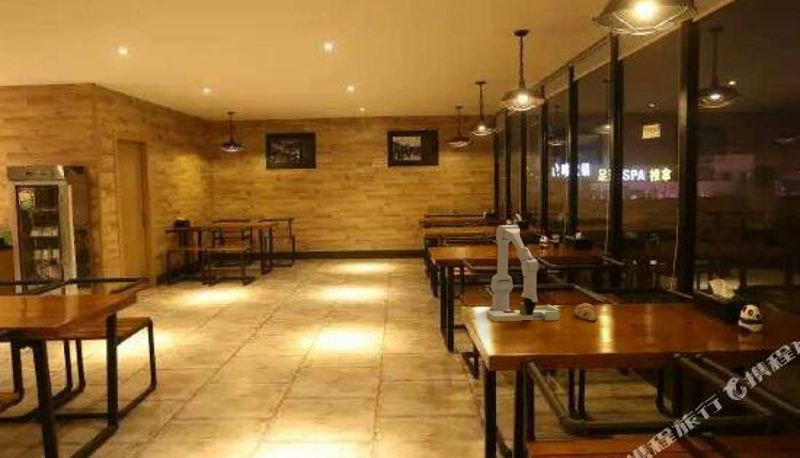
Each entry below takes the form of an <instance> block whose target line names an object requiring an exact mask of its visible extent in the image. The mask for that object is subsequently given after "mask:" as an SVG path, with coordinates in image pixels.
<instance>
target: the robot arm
mask: <svg viewBox="0 0 800 458" xmlns="http://www.w3.org/2000/svg"><path fill="white" fill-rule="evenodd" d="M495 234H496V236H495V237H496V241H497V268H496V269H497V271H496V274H495V275H492V277H491V283H490V289H491V292H492V293H493V294H492V307H490V309H491V310H492V311H502V312H504V313H506V312H507V313H510V312H512V309H510V308H509V306H510V305H509V304H510V294H511V291H513V288H514V285H513V278H512V276H511V275H509V273H508V272H509V244H510V242H511V243H512V244H513V246H514V247H515V248H516V250H517V251H516V255H517V257H518V259H519V260H520V261H519V262H520V263H521V266H520V268H521V271H522V276H523V292H522V294H521V295H520V297H521V298H523V299H522V302H524V305H525V308H526V313H527V315H532V314H533V310H535V306H536V304H537V303H538V301H539V299H538V296H537V272H539V270H540V263H539V260H538V259H536V258H535V257H533V255H532V254H531V252H530V250H529V248H528V247H526V246H525V245H524V242H523V240H522V237H521V236H520V234H521V229H520V227H519V225H518V224H509V225H508V224H507V225H506V224H505V225H502V224H501V225H498V226H497V228H496V233H495Z"/></svg>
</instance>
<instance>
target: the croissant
mask: <svg viewBox="0 0 800 458" xmlns="http://www.w3.org/2000/svg"><path fill="white" fill-rule="evenodd" d="M574 314H575V316H577V317H578V318H579V319H583V320H587V321H595V320H596V319H597V318H598V312H597V309H596V307H595V306H594V305H592V304H591V303H588V302H583V303H581V304H579V305H577V306H576V307H575V309H574Z"/></svg>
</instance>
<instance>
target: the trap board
mask: <svg viewBox="0 0 800 458" xmlns="http://www.w3.org/2000/svg"><path fill="white" fill-rule="evenodd" d="M486 316H487V318H489V319H490V320H491V321H493V322H495V323H496V322H499V321H502V322H523V321H522V320H532V321H559V320H560V309H558V307H557V308H556V307H554V306H553V305H551V304H547V305H535V307H534V315H522V314H520V309H514V310H513V311H512V312H507V313H506V312H502V311H494V310H487V311H486ZM499 323H500V322H499Z"/></svg>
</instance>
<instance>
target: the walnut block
mask: <svg viewBox="0 0 800 458" xmlns="http://www.w3.org/2000/svg"><path fill="white" fill-rule="evenodd" d="M519 310H520V314H522V315H527V313H526V308H525V305H524V302H523V301H522V302H519ZM534 310H535V309H534ZM534 310H533V314H532V315H534Z"/></svg>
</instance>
